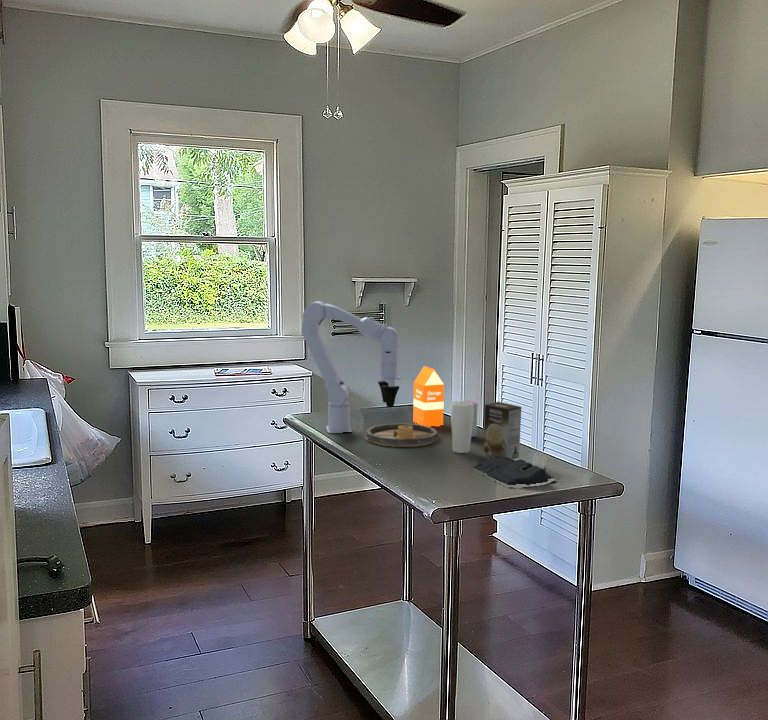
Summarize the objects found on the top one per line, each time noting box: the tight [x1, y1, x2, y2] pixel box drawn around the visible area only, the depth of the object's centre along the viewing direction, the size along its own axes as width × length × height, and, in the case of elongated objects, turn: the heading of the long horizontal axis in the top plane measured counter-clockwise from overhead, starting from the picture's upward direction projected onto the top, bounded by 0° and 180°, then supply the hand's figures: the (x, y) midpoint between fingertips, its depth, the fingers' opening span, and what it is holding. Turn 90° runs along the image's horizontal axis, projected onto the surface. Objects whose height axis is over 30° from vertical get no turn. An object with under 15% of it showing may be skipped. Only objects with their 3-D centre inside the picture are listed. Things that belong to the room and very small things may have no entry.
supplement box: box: [465, 400, 478, 439], centre depth 255 cm, size 6×6×12 cm
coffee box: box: [482, 401, 522, 460], centre depth 228 cm, size 9×6×16 cm
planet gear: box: [395, 425, 416, 439], centre depth 246 cm, size 6×6×4 cm
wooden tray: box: [363, 422, 440, 448], centre depth 253 cm, size 24×24×3 cm
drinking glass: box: [450, 400, 474, 454], centre depth 235 cm, size 7×7×15 cm
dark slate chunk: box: [471, 456, 554, 485], centre depth 212 cm, size 15×22×5 cm
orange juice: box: [412, 365, 445, 428], centre depth 273 cm, size 8×9×20 cm
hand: (388, 404), depth 260 cm, fingers open, 7 cm apart
